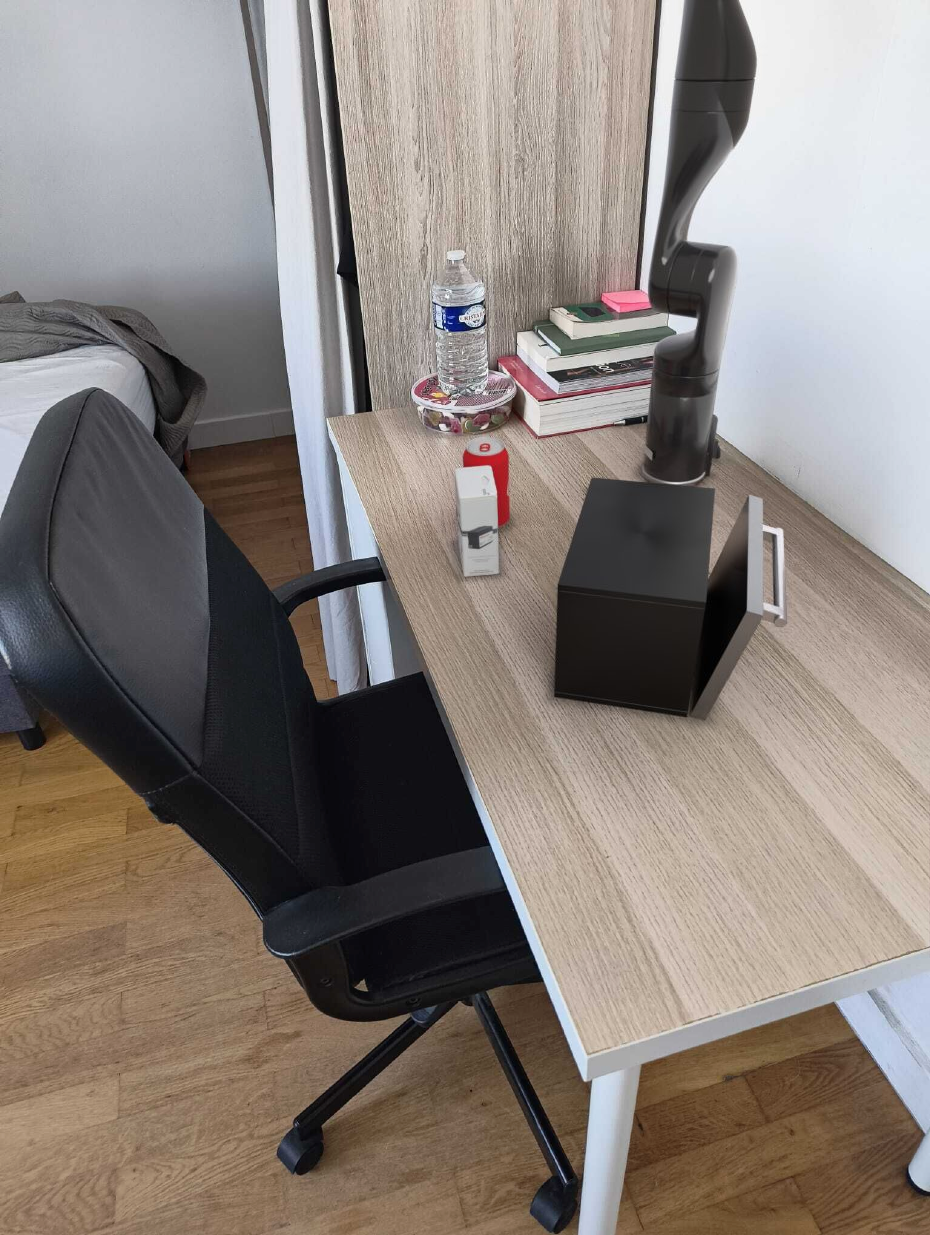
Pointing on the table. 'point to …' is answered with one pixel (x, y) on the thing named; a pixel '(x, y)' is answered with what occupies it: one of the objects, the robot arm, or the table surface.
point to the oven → (634, 596)
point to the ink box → (477, 520)
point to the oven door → (737, 603)
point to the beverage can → (497, 457)
